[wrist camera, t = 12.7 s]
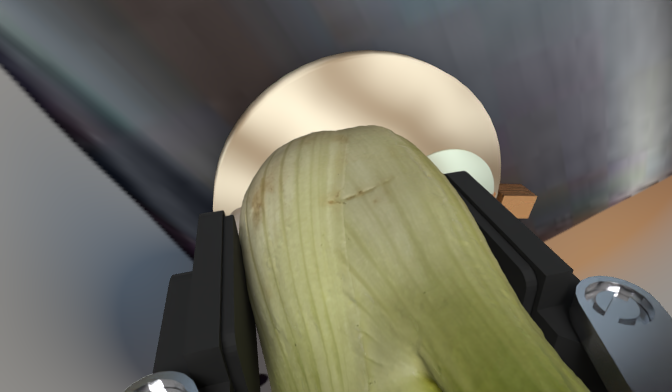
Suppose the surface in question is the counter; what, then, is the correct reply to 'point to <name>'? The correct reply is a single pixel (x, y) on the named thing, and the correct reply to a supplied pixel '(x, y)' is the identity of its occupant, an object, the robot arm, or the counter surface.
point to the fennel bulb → (381, 276)
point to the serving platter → (361, 118)
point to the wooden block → (516, 199)
